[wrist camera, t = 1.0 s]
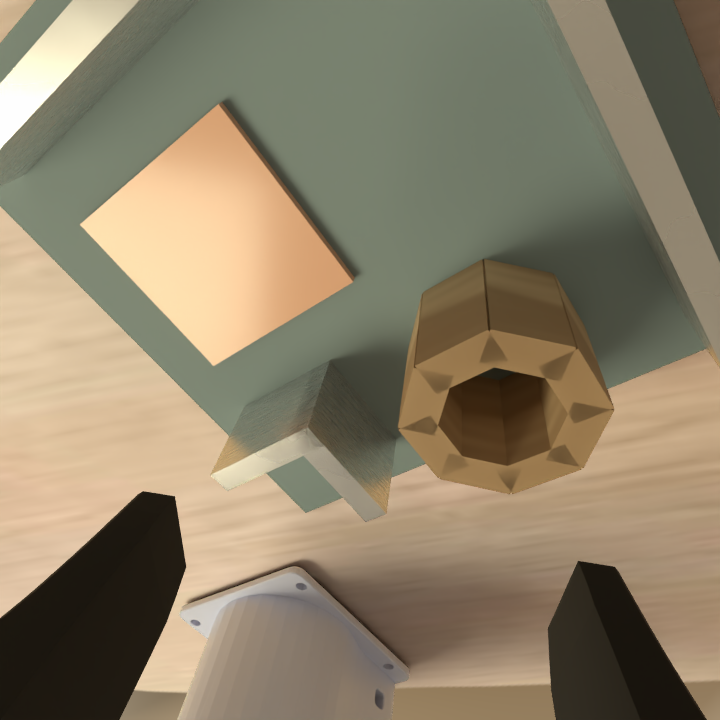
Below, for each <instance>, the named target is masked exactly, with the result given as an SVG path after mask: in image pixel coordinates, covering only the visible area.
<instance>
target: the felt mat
mask: <svg viewBox="0 0 720 720" xmlns="http://www.w3.org/2000/svg"><path fill="white" fill-rule="evenodd" d="M71 1H72V0H36V1H35V2H34V3H33V5H32V6H31V7H30V8H29V9H28V11H27V12H26V13H25V14H24V15H23V17H22V18H21V19H20V20H19V21H18V23H17V24H16V25H15V26H14V27H13V29H12V30H11V31H10V32H9V33H8V35H7V36H6V37H5V38H4V40H3V41H2V42H1V43H0V83H1V82H2V81H3V80H4V79H5V78H6V76H7V75H8V74H9V73H10V72H11V71H12V69H13V68H14V67H15V66H16V65H17V64H18V63H19V61H20V60H21V59H22V58H23V57H24V56H25V54H26V53H27V52H28V51H29V50H30V49H31V48H32V46H33V45H34V44H35V43H36V42H37V41H38V40H39V38H40V37H41V36H42V35H43V34H44V33H45V31H46V30H47V29H48V28H49V27H50V26H51V25H52V23H53V22H54V21H55V20H56V19H57V18H58V16H59V15H60V14H61V13H62V12H63V11H64V10H65V8H66V7H67V6H68V5H69V4H70V3H71ZM605 1H606V3H607V6H608V8H609V10H610V12H611V15H612V17H613V19H614V22H615V24H616V26H617V28H618V31H619V33H620V35H621V38H622V40H623V42H624V44H625V47H626V49H627V51H628V54H629V56H630V58H631V60H632V63H633V65H634V67H635V70H636V72H637V74H638V77H639V79H640V81H641V83H642V86H643V88H644V90H645V93H646V95H647V97H648V99H649V102H650V104H651V106H652V109H653V111H654V113H655V115H656V118H657V120H658V122H659V125H660V127H661V129H662V131H663V134H664V136H665V138H666V141H667V143H668V145H669V147H670V150H671V152H672V154H673V157H674V159H675V161H676V163H677V166H678V168H679V170H680V173H681V175H682V177H683V179H684V182H685V184H686V186H687V189H688V191H689V193H690V196H691V198H692V200H693V202H694V205H695V207H696V209H697V212H698V214H699V216H700V218H701V221H702V223H703V225H704V228H705V230H706V232H707V234H708V237H709V239H710V241H711V244H712V246H713V248H714V250H715V253H716V255H717V257H718V260H719V262H720V118H719V116H718V113H717V111H716V108H715V105H714V103H713V100H712V98H711V95H710V93H709V90H708V88H707V85H706V82H705V80H704V77H703V75H702V72H701V70H700V67H699V64H698V62H697V59H696V57H695V54H694V52H693V49H692V46H691V44H690V41H689V39H688V36H687V34H686V31H685V29H684V26H683V23H682V21H681V18H680V16H679V13H678V11H677V8H676V5H675V3H674V0H605ZM221 102H223V104H224V105H225V106H226V108H227V109H228V110H229V112H230V113H231V114H232V116H233V117H234V118H235V120H236V121H237V122H238V124H239V125H240V126H241V128H242V129H243V130H244V132H245V133H246V134H247V136H248V137H249V138H250V140H251V141H252V142H253V143H254V145H255V146H256V147H257V149H258V150H259V151H260V153H261V154H262V155H263V157H264V158H265V159H266V161H267V162H268V163H269V165H270V166H271V167H272V169H273V170H274V171H275V173H276V174H277V175H278V177H279V178H280V179H281V181H282V182H283V183H284V185H285V186H286V187H287V189H288V190H289V191H290V193H291V194H292V195H293V197H294V198H295V199H296V201H297V202H298V203H299V204H300V206H301V207H302V208H303V210H304V211H305V212H306V214H307V215H308V216H309V218H310V219H311V220H312V222H313V223H314V224H315V226H316V227H317V228H318V230H319V231H320V232H321V234H322V235H323V236H324V238H325V239H326V240H327V242H328V243H329V244H330V246H331V247H332V248H333V250H334V251H335V252H336V254H337V255H338V256H339V258H340V259H341V260H342V262H343V263H344V264H345V265H346V267H347V268H348V269H349V271H350V272H351V273H352V275H353V276H354V277H355V278H354V281H353V282H352V283H351V284H349V285H347V286H346V287H344V288H342V289H341V290H339V291H338V292H336V293H334V294H333V295H331V296H329V297H328V298H326V299H324V300H323V301H321V302H319V303H318V304H316V305H314V306H313V307H311V308H309V309H308V310H306V311H304V312H303V313H301V314H299V315H298V316H296V317H294V318H293V319H291V320H289V321H288V322H286V323H284V324H283V325H281V326H279V327H278V328H276V329H274V330H273V331H271V332H269V333H268V334H266V335H264V336H263V337H261V338H259V339H258V340H256V341H254V342H253V343H251V344H250V345H248V346H246V347H245V348H243V349H241V350H240V351H238V352H236V353H235V354H233V355H231V356H230V357H228V358H226V359H225V360H223V361H221V362H220V363H218V364H216V365H215V366H213V365H212V364H211V363H210V362H209V361H208V360H207V358H206V357H205V356H204V355H203V354H202V353H201V352H200V351H199V350H198V349H197V348H196V347H195V346H194V345H193V344H192V343H191V342H190V340H189V339H188V338H187V337H186V336H185V335H184V334H183V333H182V332H181V331H180V330H179V329H178V328H177V327H176V326H175V325H174V324H173V323H172V321H171V320H170V319H169V318H168V317H167V316H166V315H165V314H164V313H163V312H162V311H161V310H160V309H159V308H158V307H157V306H156V305H155V303H154V302H153V301H152V300H151V299H150V298H149V297H148V296H147V295H146V294H145V293H144V292H143V291H142V290H141V289H140V288H139V287H138V286H137V284H136V283H135V282H134V281H133V280H132V279H131V278H130V277H129V276H128V275H127V274H126V273H125V272H124V271H123V270H122V269H121V268H120V266H119V265H118V264H117V263H116V262H115V261H114V260H113V259H112V258H111V257H110V256H109V255H108V254H107V253H106V252H105V251H104V250H103V249H102V247H101V246H100V245H99V244H98V243H97V242H96V241H95V240H94V239H93V238H92V237H91V236H90V235H89V234H88V233H87V232H86V231H85V229H84V228H83V227H82V226H81V225H80V224H81V223H82V222H83V221H85V220H86V219H87V218H88V217H89V216H90V215H91V214H93V213H94V212H95V211H96V210H97V209H98V208H100V207H101V206H102V205H103V204H104V203H105V202H106V201H108V200H109V199H110V198H111V197H112V196H113V195H114V194H116V193H117V192H118V191H119V190H120V189H121V188H122V187H124V186H125V185H126V184H127V183H128V182H129V181H131V180H132V179H133V178H134V177H135V176H136V175H137V174H139V173H140V172H141V171H142V170H143V169H144V168H145V167H147V166H148V165H149V164H150V163H151V162H152V161H153V160H155V159H156V158H157V157H158V156H159V155H160V154H162V153H163V152H164V151H165V150H166V149H167V148H168V147H170V146H171V145H172V144H173V143H174V142H175V141H176V140H178V139H179V138H180V137H181V136H182V135H183V134H184V133H186V132H187V131H188V130H189V129H190V128H191V127H193V126H194V125H195V124H196V123H197V122H198V121H199V120H201V119H202V118H203V117H204V116H205V115H206V114H207V113H209V112H210V111H211V110H212V109H213V108H214V107H215V106H217V105H218V104H219V103H221ZM0 206H1V207H2V208H3V209H4V210H5V211H6V212H7V213H8V214H9V215H10V216H11V217H12V218H13V219H14V220H15V221H16V222H17V223H18V224H19V225H20V226H21V227H22V228H23V229H24V230H25V231H26V232H27V233H28V234H29V235H30V236H31V237H32V238H33V239H34V240H35V241H36V242H37V243H38V244H39V245H40V246H41V247H42V248H43V249H44V250H45V251H46V252H47V253H48V254H49V256H50V257H51V258H52V259H53V260H54V261H55V262H56V263H57V264H58V265H59V266H60V267H61V268H62V269H63V270H64V271H65V272H66V273H67V274H68V275H69V276H70V277H71V278H72V279H73V280H74V281H75V282H76V283H77V284H78V285H79V286H80V287H81V288H82V289H83V290H84V291H85V292H86V293H87V294H88V295H89V296H90V297H91V298H92V299H93V300H94V301H95V302H96V303H97V304H98V305H99V306H100V307H101V308H102V309H103V310H104V311H105V312H106V313H107V314H108V315H109V316H110V317H111V318H112V319H113V320H114V321H115V322H116V323H117V324H118V325H119V326H120V327H121V328H122V329H123V330H124V331H125V332H126V333H127V334H128V335H129V336H130V337H131V338H132V339H133V340H134V341H135V342H136V343H137V344H138V345H139V346H140V347H141V348H142V349H143V350H144V351H145V352H146V353H147V354H148V355H149V356H150V357H151V358H152V359H153V360H154V361H155V362H156V363H157V364H158V365H159V366H160V367H161V368H162V369H163V370H164V371H165V372H166V373H167V374H168V375H169V376H170V377H171V378H172V379H173V380H174V381H175V382H176V383H177V384H178V385H179V386H180V387H181V388H182V389H183V390H184V391H185V392H186V393H187V394H188V395H189V396H190V397H191V398H192V399H193V400H194V401H195V402H196V403H197V404H198V405H199V406H200V407H201V408H202V409H203V410H204V411H205V412H206V413H207V414H208V415H209V416H210V417H211V418H212V419H213V420H214V421H215V422H216V423H217V424H218V425H219V426H220V427H221V428H222V429H223V430H224V431H225V432H226V433H227V434H228V435H229V436H230V434H231V432H232V430H233V428H234V426H235V424H236V422H237V420H238V418H239V416H240V414H241V412H242V410H243V408H244V406H246V405H248V404H250V403H252V402H253V401H255V400H257V399H259V398H261V397H263V396H264V395H266V394H268V393H270V392H272V391H274V390H276V389H277V388H279V387H281V386H283V385H285V384H287V383H288V382H290V381H292V380H294V379H296V378H298V377H299V376H301V375H303V374H305V373H307V372H309V371H311V370H312V369H314V368H316V367H318V366H320V365H322V364H323V363H325V362H327V361H329V360H330V361H331V362H332V363H333V364H334V365H335V367H336V368H337V369H338V370H339V371H340V373H341V374H342V375H343V376H344V377H345V379H346V380H347V381H348V382H349V383H350V385H351V386H352V387H353V388H354V389H355V391H356V392H357V393H358V394H359V395H360V397H361V398H362V399H363V400H364V401H365V403H366V404H367V405H368V406H369V407H370V409H371V410H372V411H373V412H374V413H375V415H376V416H377V417H378V418H379V419H380V421H381V422H382V423H383V424H384V425H385V427H386V428H387V429H388V430H389V431H390V433H391V434H392V435H393V436H394V437H395V439H396V446H395V453H394V461H393V468H392V476H391V478H392V477H394V476H397V475H399V474H402V473H404V472H407V471H409V470H411V469H414V468H416V467H419V466H421V465H424V464H426V463H425V462H424V460H423V459H422V458H421V457H420V456H419V454H418V453H417V452H416V451H415V449H414V448H413V447H412V446H411V445H410V443H409V442H408V441H407V440H406V439H405V437H404V436H403V435H402V434H401V432H400V431H399V430H398V422H399V415H400V407H401V400H402V392H403V385H404V377H405V370H406V362H407V355H408V347H409V343H410V339H411V335H412V331H413V327H414V323H415V319H416V315H417V311H418V307H419V303H420V299H421V295H422V294H423V292H424V291H426V290H428V289H430V288H431V287H433V286H435V285H437V284H439V283H440V282H442V281H444V280H446V279H447V278H449V277H451V276H453V275H455V274H456V273H458V272H460V271H462V270H464V269H465V268H467V267H469V266H471V265H473V264H474V263H476V262H478V261H480V260H483V262H484V259H487V260H492V261H497V262H502V263H507V264H511V265H516V266H521V267H526V268H531V269H535V270H540V271H545V272H550V273H553V275H554V274H555V276H556V278H557V279H558V281H559V283H560V284H561V286H562V288H563V290H564V291H565V293H566V295H567V296H568V298H569V300H570V302H571V303H572V305H573V307H574V308H575V310H576V312H577V314H578V315H579V317H580V319H581V320H582V322H583V324H584V326H585V328H586V331H587V334H588V337H589V339H590V342H591V345H592V348H593V351H594V353H595V356H596V359H597V362H598V365H599V367H600V370H601V373H602V376H603V379H604V381H605V384H606V387H607V389H609V388H611V387H614V386H616V385H619V384H621V383H623V382H626V381H628V380H631V379H633V378H636V377H638V376H641V375H643V374H645V373H648V372H650V371H653V370H655V369H658V368H660V367H662V366H665V365H667V364H670V363H672V362H675V361H677V360H680V359H682V358H684V357H687V356H689V355H692V354H694V353H697V352H699V351H702V350H704V349H706V347H705V345H704V344H703V342H702V341H701V339H700V338H699V336H698V335H697V333H696V332H695V330H694V328H693V327H692V325H691V324H690V322H689V321H688V319H687V318H686V316H685V315H684V313H683V312H682V309H681V307H680V305H679V303H678V301H677V299H676V297H675V295H674V293H673V291H672V289H671V287H670V285H669V283H668V281H667V279H666V277H665V275H664V273H663V271H662V269H661V266H660V264H659V262H658V260H657V258H656V256H655V254H654V252H653V250H652V248H651V246H650V244H649V242H648V240H647V238H646V236H645V234H644V232H643V230H642V228H641V226H640V223H639V221H638V219H637V217H636V215H635V213H634V211H633V209H632V207H631V205H630V203H629V201H628V199H627V197H626V195H625V193H624V191H623V189H622V187H621V185H620V183H619V181H618V178H617V176H616V174H615V172H614V170H613V168H612V166H611V164H610V162H609V160H608V158H607V156H606V154H605V152H604V150H603V148H602V146H601V144H600V142H599V140H598V138H597V135H596V133H595V131H594V129H593V127H592V125H591V123H590V121H589V119H588V117H587V115H586V113H585V111H584V109H583V107H582V105H581V103H580V101H579V99H578V97H577V95H576V92H575V90H574V88H573V86H572V84H571V82H570V80H569V78H568V76H567V74H566V72H565V70H564V68H563V66H562V64H561V62H560V60H559V58H558V56H557V54H556V52H555V49H554V47H553V45H552V43H551V41H550V39H549V37H548V35H547V33H546V31H545V29H544V27H543V25H542V23H541V21H540V19H539V17H538V15H537V13H536V11H535V9H534V7H533V4H532V2H531V0H199V1H198V2H197V3H196V4H195V5H194V6H193V7H192V8H191V9H190V10H189V11H188V12H187V13H186V14H185V15H184V16H183V17H182V18H181V19H180V20H179V21H178V22H177V23H176V24H175V25H174V26H173V27H172V28H171V29H170V30H169V31H168V32H167V33H166V34H165V35H164V36H163V37H162V38H161V39H160V40H159V41H158V42H157V43H156V44H155V45H154V46H153V47H152V48H151V49H150V50H149V51H148V52H147V53H146V54H145V55H144V56H143V57H142V58H141V59H140V60H139V61H138V62H137V63H136V64H135V65H134V66H133V67H132V68H131V69H130V70H129V71H128V72H127V73H126V74H125V75H124V76H123V77H122V78H121V79H120V80H119V81H118V82H117V83H116V84H115V85H114V86H113V87H112V88H111V89H110V90H109V91H108V92H107V93H106V94H105V95H104V96H103V97H102V98H101V99H100V100H99V101H98V102H97V103H96V104H95V105H94V106H93V107H92V108H91V109H90V110H89V111H88V112H87V113H86V114H85V115H84V116H83V117H82V118H81V119H80V120H79V121H78V122H77V123H76V124H75V125H74V126H73V127H72V128H71V129H70V130H69V131H68V132H67V133H66V134H65V135H64V136H63V137H62V138H61V139H60V140H59V141H58V142H57V143H56V144H55V145H54V146H53V147H52V148H51V149H50V150H49V151H48V152H47V153H46V154H45V155H44V156H43V157H42V158H41V159H40V160H39V161H38V162H37V163H36V164H35V165H34V166H33V167H32V168H31V169H30V170H29V171H28V172H27V173H26V174H25V175H24V176H22V177H20V178H17V179H15V180H13V181H11V182H9V183H7V184H5V185H2V186H0ZM514 373H516V372H514V371H509V370H504V369H500V368H495V367H494V368H492V369H490V370H488V371H485V372H483V373H481V374H479V375H477V376H482V377H486V378H491V379H496V380H501V379H503V378H505V377H507V376H509V375H512V374H514ZM267 474H268V475H269V476H270V477H271V478H272V479H273V480H274V481H275V482H276V483H277V484H278V485H279V486H280V487H281V488H282V489H283V490H284V491H285V492H286V493H287V494H288V495H289V497H290V498H291V499H292V500H293V501H294V502H295V503H296V504H297V505H298V506H299V507H300V508H301V509H302V510H303V511H304V512H305V513H307V512H309V511H311V510H314V509H316V508H319V507H321V506H324V505H326V504H329V503H331V502H333V501H336V500H338V499H341V498H343V497H342V496H341V495H340V494H339V493H338V492H337V491H336V490H335V489H334V488H333V487H332V486H331V484H330V483H329V482H328V481H327V480H326V479H325V478H324V477H323V476H322V475H321V474H320V473H319V472H318V471H317V470H316V469H315V467H314V466H313V465H312V464H311V463H310V462H309V461H308V460H307V459H306V458H305V457H304V456H302V457H300V458H298V459H296V460H293V461H291V462H289V463H287V464H285V465H283V466H280V467H278V468H276V469H274V470H272V471H270V472H268V473H267Z"/></svg>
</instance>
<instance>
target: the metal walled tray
mask: <svg viewBox="0 0 720 720" xmlns="http://www.w3.org/2000/svg"><path fill="white" fill-rule="evenodd" d="M198 1H199V0H72V1H71V3H70V4H69V5H68V6H67V7H66V8H65V10H64V11H63V12H62V13H61V14H60V15H59V16H58V18H57V19H56V20H55V21H54V22H53V23H52V25H51V26H50V27H49V28H48V29H47V30H46V31H45V33H44V34H43V35H42V36H41V37H40V38H39V40H38V41H37V42H36V43H35V44H34V45H33V46H32V48H31V49H30V50H29V51H28V52H27V53H26V54H25V56H24V57H23V58H22V59H21V60H20V61H19V63H18V64H17V65H16V66H15V67H14V68H13V69H12V71H11V72H10V73H9V74H8V75H7V76H6V78H5V79H4V80H3V81H2V82H1V83H0V186H2V185H5V184H7V183H9V182H11V181H13V180H15V179H17V178H20V177H22V176H24V175H25V174H26V173H27V172H28V171H29V170H30V169H31V168H32V167H33V166H34V165H35V164H36V163H37V162H38V161H39V160H40V159H41V158H42V157H43V156H44V155H45V154H46V153H47V152H48V151H49V150H50V149H51V148H52V147H53V146H54V145H55V144H56V143H57V142H58V141H59V140H60V139H61V138H62V137H63V136H64V135H65V134H66V133H67V132H68V131H69V130H70V129H71V128H72V127H73V126H74V125H75V124H76V123H77V122H78V121H79V120H80V119H81V118H82V117H83V116H84V115H85V114H86V113H87V112H88V111H89V110H90V109H91V108H92V107H93V106H94V105H95V104H96V103H97V102H98V101H99V100H100V99H101V98H102V97H103V96H104V95H105V94H106V93H107V92H108V91H109V90H110V89H111V88H112V87H113V86H114V85H115V84H116V83H117V82H118V81H119V80H120V79H121V78H122V77H123V76H124V75H125V74H126V73H127V72H128V71H129V70H130V69H131V68H132V67H133V66H134V65H135V64H136V63H137V62H138V61H139V60H140V59H141V58H142V57H143V56H144V55H145V54H146V53H147V52H148V51H149V50H150V49H151V48H152V47H153V46H154V45H155V44H156V43H157V42H158V41H159V40H160V39H161V38H162V37H163V36H164V35H165V34H166V33H167V32H168V31H169V30H170V29H171V28H172V27H173V26H174V25H175V24H176V23H177V22H178V21H179V20H180V19H181V18H182V17H183V16H184V15H185V14H186V13H187V12H188V11H189V10H190V9H191V8H192V7H193V6H194V5H195V4H196V3H197V2H198ZM531 2H532V4H533V7H534V9H535V11H536V13H537V15H538V17H539V19H540V21H541V23H542V25H543V27H544V29H545V31H546V33H547V35H548V37H549V39H550V41H551V43H552V45H553V47H554V49H555V52H556V54H557V56H558V58H559V60H560V62H561V64H562V66H563V68H564V70H565V72H566V74H567V76H568V78H569V80H570V82H571V84H572V86H573V88H574V90H575V92H576V95H577V97H578V99H579V101H580V103H581V105H582V107H583V109H584V111H585V113H586V115H587V117H588V119H589V121H590V123H591V125H592V127H593V129H594V131H595V133H596V135H597V138H598V140H599V142H600V144H601V146H602V148H603V150H604V152H605V154H606V156H607V158H608V160H609V162H610V164H611V166H612V168H613V170H614V172H615V174H616V176H617V178H618V181H619V183H620V185H621V187H622V189H623V191H624V193H625V195H626V197H627V199H628V201H629V203H630V205H631V207H632V209H633V211H634V213H635V215H636V217H637V219H638V221H639V223H640V226H641V228H642V230H643V232H644V234H645V236H646V238H647V240H648V242H649V244H650V246H651V248H652V250H653V252H654V254H655V256H656V258H657V260H658V262H659V264H660V266H661V269H662V271H663V273H664V275H665V277H666V279H667V281H668V283H669V285H670V287H671V289H672V291H673V293H674V295H675V297H676V299H677V301H678V303H679V305H680V307H681V309H682V312H683V313H684V315H685V316H686V318H687V319H688V321H689V322H690V324H691V325H692V327H693V328H694V330H695V332H696V333H697V335H698V336H699V338H700V339H701V341H702V342H703V344H704V345H705V347H706V348H707V350H708V351H709V353H710V354H711V356H712V357H713V359H714V360H715V362H716V363H717V365H718V366H719V368H720V262H719V260H718V257H717V255H716V253H715V250H714V248H713V246H712V244H711V241H710V239H709V237H708V234H707V232H706V230H705V228H704V225H703V223H702V221H701V218H700V216H699V214H698V212H697V209H696V207H695V205H694V202H693V200H692V198H691V196H690V193H689V191H688V189H687V186H686V184H685V182H684V179H683V177H682V175H681V173H680V170H679V168H678V166H677V163H676V161H675V159H674V157H673V154H672V152H671V150H670V147H669V145H668V143H667V141H666V138H665V136H664V134H663V131H662V129H661V127H660V125H659V122H658V120H657V118H656V115H655V113H654V111H653V109H652V106H651V104H650V102H649V99H648V97H647V95H646V93H645V90H644V88H643V86H642V83H641V81H640V79H639V77H638V74H637V72H636V70H635V67H634V65H633V63H632V60H631V58H630V56H629V54H628V51H627V49H626V47H625V44H624V42H623V40H622V38H621V35H620V33H619V31H618V28H617V26H616V24H615V22H614V19H613V17H612V15H611V12H610V10H609V8H608V6H607V3H606V1H605V0H531ZM395 446H396V439H395V437H394V436H393V435H392V434H391V433H390V431H389V430H388V429H387V428H386V427H385V425H384V424H383V423H382V422H381V421H380V419H379V418H378V417H377V416H376V415H375V413H374V412H373V411H372V410H371V409H370V407H369V406H368V405H367V404H366V403H365V401H364V400H363V399H362V398H361V397H360V395H359V394H358V393H357V392H356V391H355V389H354V388H353V387H352V386H351V385H350V383H349V382H348V381H347V380H346V379H345V377H344V376H343V375H342V374H341V373H340V371H339V370H338V369H337V368H336V367H335V365H334V364H333V363H332V362H331V361H330V360H329V361H327V362H325V363H323V364H322V365H320V366H318V367H316V368H314V369H312V370H311V371H309V372H307V373H305V374H303V375H301V376H299V377H298V378H296V379H294V380H292V381H290V382H288V383H287V384H285V385H283V386H281V387H279V388H277V389H276V390H274V391H272V392H270V393H268V394H266V395H264V396H263V397H261V398H259V399H257V400H255V401H253V402H252V403H250V404H248V405H246V406H244V408H243V410H242V412H241V414H240V416H239V418H238V420H237V422H236V424H235V426H234V428H233V430H232V432H231V434H230V436H229V438H228V440H227V442H226V444H225V446H224V448H223V450H222V452H221V454H220V456H219V458H218V461H217V463H216V465H215V467H214V469H213V471H212V473H211V476H212V477H213V478H214V479H215V480H216V481H217V482H218V483H219V484H220V485H221V486H222V487H223V488H224V489H225V490H226V491H229V490H231V489H233V488H235V487H237V486H240V485H242V484H244V483H246V482H248V481H250V480H253V479H255V478H257V477H259V476H261V475H263V474H265V473H268V472H270V471H272V470H274V469H276V468H278V467H280V466H283V465H285V464H287V463H289V462H291V461H293V460H296V459H298V458H300V457H302V456H304V457H305V458H306V459H307V460H308V461H309V462H310V463H311V464H312V465H313V466H314V467H315V469H316V470H317V471H318V472H319V473H320V474H321V475H322V476H323V477H324V478H325V479H326V480H327V481H328V482H329V483H330V484H331V486H332V487H333V488H334V489H335V490H336V491H337V492H338V493H339V494H340V495H341V496H342V497H343V498H344V499H345V500H346V501H347V503H348V504H349V505H350V506H351V507H352V508H353V509H354V510H355V511H356V512H357V513H358V514H359V515H360V516H361V517H362V518H363V520H364V521H365V522H367V521H369V520H372V519H375V518H377V517H380V516H383V515H385V514H386V513H387V506H388V498H389V491H390V483H391V476H392V468H393V461H394V453H395Z"/></svg>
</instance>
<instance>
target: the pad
mask: <svg viewBox="0 0 720 720" xmlns="http://www.w3.org/2000/svg"><path fill="white" fill-rule="evenodd" d="M80 225H81V226H82V227H83V228H84V229H85V231H86V232H87V233H88V234H89V235H90V236H91V237H92V238H93V239H94V240H95V241H96V242H97V243H98V244H99V245H100V246H101V247H102V249H103V250H104V251H105V252H106V253H107V254H108V255H109V256H110V257H111V258H112V259H113V260H114V261H115V262H116V263H117V264H118V265H119V266H120V268H121V269H122V270H123V271H124V272H125V273H126V274H127V275H128V276H129V277H130V278H131V279H132V280H133V281H134V282H135V283H136V284H137V286H138V287H139V288H140V289H141V290H142V291H143V292H144V293H145V294H146V295H147V296H148V297H149V298H150V299H151V300H152V301H153V302H154V303H155V305H156V306H157V307H158V308H159V309H160V310H161V311H162V312H163V313H164V314H165V315H166V316H167V317H168V318H169V319H170V320H171V321H172V323H173V324H174V325H175V326H176V327H177V328H178V329H179V330H180V331H181V332H182V333H183V334H184V335H185V336H186V337H187V338H188V339H189V340H190V342H191V343H192V344H193V345H194V346H195V347H196V348H197V349H198V350H199V351H200V352H201V353H202V354H203V355H204V356H205V357H206V358H207V360H208V361H209V362H210V363H211V364H212V365H213V366H215V365H216V364H218V363H220V362H221V361H223V360H225V359H226V358H228V357H230V356H231V355H233V354H235V353H236V352H238V351H240V350H241V349H243V348H245V347H246V346H248V345H250V344H251V343H253V342H254V341H256V340H258V339H259V338H261V337H263V336H264V335H266V334H268V333H269V332H271V331H273V330H274V329H276V328H278V327H279V326H281V325H283V324H284V323H286V322H288V321H289V320H291V319H293V318H294V317H296V316H298V315H299V314H301V313H303V312H304V311H306V310H308V309H309V308H311V307H313V306H314V305H316V304H318V303H319V302H321V301H323V300H324V299H326V298H328V297H329V296H331V295H333V294H334V293H336V292H338V291H339V290H341V289H342V288H344V287H346V286H347V285H349V284H351V283H352V282H353V281H354V278H355V277H354V276H353V275H352V273H351V272H350V271H349V269H348V268H347V267H346V265H345V264H344V263H343V262H342V260H341V259H340V258H339V256H338V255H337V254H336V252H335V251H334V250H333V248H332V247H331V246H330V244H329V243H328V242H327V240H326V239H325V238H324V236H323V235H322V234H321V232H320V231H319V230H318V228H317V227H316V226H315V224H314V223H313V222H312V220H311V219H310V218H309V216H308V215H307V214H306V212H305V211H304V210H303V208H302V207H301V206H300V204H299V203H298V202H297V201H296V199H295V198H294V197H293V195H292V194H291V193H290V191H289V190H288V189H287V187H286V186H285V185H284V183H283V182H282V181H281V179H280V178H279V177H278V175H277V174H276V173H275V171H274V170H273V169H272V167H271V166H270V165H269V163H268V162H267V161H266V159H265V158H264V157H263V155H262V154H261V153H260V151H259V150H258V149H257V147H256V146H255V145H254V143H253V142H252V141H251V140H250V138H249V137H248V136H247V134H246V133H245V132H244V130H243V129H242V128H241V126H240V125H239V124H238V122H237V121H236V120H235V118H234V117H233V116H232V114H231V113H230V112H229V110H228V109H227V108H226V106H225V105H224V104H223V102H221V103H219V104H218V105H217V106H215V107H214V108H213V109H212V110H211V111H210V112H209V113H207V114H206V115H205V116H204V117H203V118H202V119H201V120H199V121H198V122H197V123H196V124H195V125H194V126H193V127H191V128H190V129H189V130H188V131H187V132H186V133H184V134H183V135H182V136H181V137H180V138H179V139H178V140H176V141H175V142H174V143H173V144H172V145H171V146H170V147H168V148H167V149H166V150H165V151H164V152H163V153H162V154H160V155H159V156H158V157H157V158H156V159H155V160H153V161H152V162H151V163H150V164H149V165H148V166H147V167H145V168H144V169H143V170H142V171H141V172H140V173H139V174H137V175H136V176H135V177H134V178H133V179H132V180H131V181H129V182H128V183H127V184H126V185H125V186H124V187H122V188H121V189H120V190H119V191H118V192H117V193H116V194H114V195H113V196H112V197H111V198H110V199H109V200H108V201H106V202H105V203H104V204H103V205H102V206H101V207H100V208H98V209H97V210H96V211H95V212H94V213H93V214H91V215H90V216H89V217H88V218H87V219H86V220H85V221H83V222H82V223H81V224H80Z"/></svg>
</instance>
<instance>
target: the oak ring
mask: <svg viewBox="0 0 720 720" xmlns="http://www.w3.org/2000/svg"><path fill="white" fill-rule="evenodd" d="M494 367H495V368H500V369H504V370H509V371H514V372H516V373H514V374H512V375H509V376H507V377H505V378H503V379H501V380H496V379H491V378H486V377H482V376H477V375H479V374H481V373H483V372H485V371H488V370H490V369H492V368H494ZM613 412H614V407H613V404H612V401H611V398H610V395H609V393H608V390H607V387H606V384H605V381H604V379H603V376H602V373H601V370H600V367H599V365H598V362H597V359H596V356H595V353H594V351H593V348H592V345H591V342H590V339H589V337H588V334H587V331H586V328H585V326H584V324H583V322H582V320H581V319H580V317H579V315H578V314H577V312H576V310H575V308H574V307H573V305H572V303H571V302H570V300H569V298H568V296H567V295H566V293H565V291H564V290H563V288H562V286H561V284H560V283H559V281H558V279H557V278H556V276H555V274H554V275H553V273H550V272H545V271H540V270H535V269H531V268H526V267H521V266H516V265H511V264H507V263H502V262H497V261H492V260H487V259H484V262H483V260H480V261H478V262H476V263H474V264H473V265H471V266H469V267H467V268H465V269H464V270H462V271H460V272H458V273H456V274H455V275H453V276H451V277H449V278H447V279H446V280H444V281H442V282H440V283H439V284H437V285H435V286H433V287H431V288H430V289H428V290H426V291H424V292H423V294H422V295H421V299H420V303H419V307H418V311H417V315H416V319H415V323H414V327H413V331H412V335H411V339H410V343H409V347H408V355H407V362H406V370H405V377H404V385H403V392H402V400H401V407H400V415H399V422H398V430H399V431H400V432H401V434H402V435H403V436H404V437H405V439H406V440H407V441H408V442H409V443H410V445H411V446H412V447H413V448H414V449H415V451H416V452H417V453H418V454H419V456H420V457H421V458H422V459H423V460H424V462H425V463H426V464H427V465H428V466H429V468H430V469H431V470H432V471H433V473H434V474H435V475H436V476H437V477H438V478H439V477H440V479H443V480H447V481H452V482H456V483H461V484H465V485H470V486H475V487H479V488H484V489H488V490H493V491H497V492H502V493H507V494H510V493H512V494H514V493H517V492H520V491H523V490H525V489H528V488H531V487H534V486H537V485H539V484H542V483H545V482H548V481H551V480H553V479H556V478H559V477H562V476H565V475H567V474H570V473H573V472H576V471H579V470H581V468H584V466H585V464H586V462H587V460H588V458H589V456H590V455H591V453H592V451H593V449H594V447H595V445H596V443H597V442H598V440H599V438H600V436H601V434H602V432H603V430H604V428H605V427H606V425H607V423H608V421H609V419H610V417H611V415H612V414H613Z"/></svg>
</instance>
